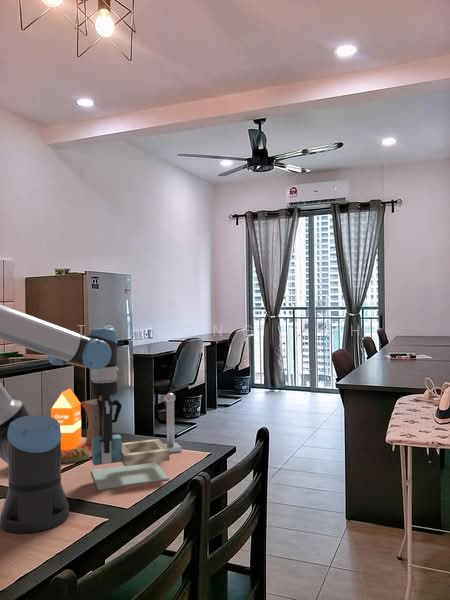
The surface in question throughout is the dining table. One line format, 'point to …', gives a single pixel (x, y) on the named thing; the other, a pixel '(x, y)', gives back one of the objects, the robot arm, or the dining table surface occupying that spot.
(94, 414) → the coffeepot
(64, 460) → the pastry
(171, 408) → the stand
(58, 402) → the orange juice
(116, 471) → the mat
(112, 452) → the sponge holder
